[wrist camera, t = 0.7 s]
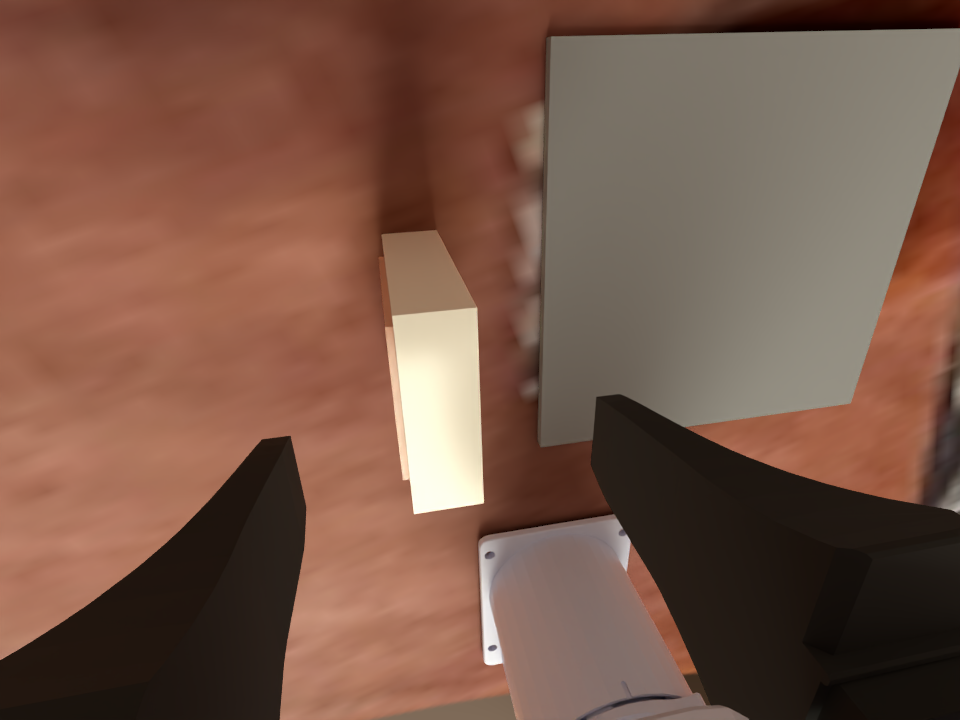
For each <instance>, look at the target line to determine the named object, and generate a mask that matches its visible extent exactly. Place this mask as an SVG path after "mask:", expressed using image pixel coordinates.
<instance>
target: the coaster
mask: <svg viewBox="0 0 960 720" xmlns="http://www.w3.org/2000/svg"><path fill="white" fill-rule="evenodd" d="M381 235H382V244H383V253H384V257H378V259H379V270H380V280H381V291H382V302H383V312H384V323H385V332H386V341H387V349H388V358H389V366H390V375H391V383H392V392H393V400H394V409H395V417H396V425H397V434H398V442H399V451H400V459H401V468H402V476H403V480H408V479H410V485H411V494H412V502H413V510H414V514H418V513H425V512H431V511H438V510H444V509H450V508H457V507H463V506H470V505H476V504H483V503H484V495H483V465H482V436H481V406H480V377H479V348H478V318H477V306H476V304H475V302H474V301H473V299H472V297H471V295H470V293H469V291H468V289H467V287H466V285H465V283H464V281H463V280H462V278H461V276H460V274H459V272H458V270H457V268H456V266H455V264H454V262H453V260H452V258H451V257H450V255H449V253H448V251H447V249H446V247H445V245H444V243H443V241H442V239H441V237H440V235H439V234H438V232H437V230H430V231H417V232H403V233H390V234H381Z"/></svg>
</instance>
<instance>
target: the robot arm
mask: <svg viewBox="0 0 960 720" xmlns="http://www.w3.org/2000/svg"><path fill="white" fill-rule="evenodd" d="M591 466H592V469H593V471H594V474H595V476H596V479H597V481H598V484H599V486H600V488H601V490H602V493H603V495H604V497H605V499H606V501H607V503H608V504H609V506H610V508H611V510H612V511H613V513H614V514H612V515H606V516H600V517H594V518H588V519H582V520H576V521H570V522H564V523H558V524H552V525H546V526H540V527H534V528H528V529H522V530H516V531H510V532H504V533H498V534H492V535H487V536H484V537H482V538H481V539H480V540H479V543H478V552H479V576H480V600H481V624H482V648H483V659H484V662H485V663H486V664H487V665H495V664H500V663H503V666H504V670H505V674H506V678H507V682H508V686H509V691H510V695H511V699H512V703H513V707H514V711H515V715H516V719H517V720H960V515H959V514H957V513H956V512H954V511H952V510H948V509H942V508H937V507H931V506H925V505H920V504H914V503H908V502H903V501H897V500H891V499H886V498H882V497H877V496H873V495H869V494H864V493H860V492H856V491H852V490H847V489H844V488H840V487H836V486H832V485H829V484H825V483H822V482H818V481H815V480H812V479H809V478H805V477H802V476H799V475H795V474H792V473H789V472H786V471H783V470H780V469H778V468H775V467H772V466H769V465H767V464H764V463H762V462H759V461H756V460H754V459H751V458H749V457H746V456H744V455H741V454H739V453H737V452H734V451H732V450H730V449H728V448H725V447H723V446H721V445H719V444H717V443H715V442H712V441H710V440H708V439H706V438H704V437H702V436H700V435H698V434H696V433H694V432H692V431H690V430H688V429H686V428H684V427H682V426H681V425H679V424H677V423H675V422H673V421H671V420H669V419H667V418H666V417H664V416H662V415H660V414H658V413H656V412H655V411H653V410H651V409H649V408H647V407H645V406H644V405H642V404H640V403H638V402H636V401H634V400H632V399H630V398H628V397H626V396H624V395H621V394H615V395H607V396H599V397H596V406H595V419H594V431H593V444H592V456H591ZM305 525H306V504H305V499H304V495H303V490H302V486H301V481H300V477H299V472H298V468H297V463H296V459H295V454H294V450H293V445H292V441H291V436H285V437H278V438H270V439H262V440H261V441H260V442H259V444H258V445H257V446H256V447H255V448H254V449H253V450H252V452H251V453H250V454H249V455H248V456H247V457H246V459H245V460H244V461H243V462H242V463H241V465H240V466H239V467H238V468H237V469H236V471H235V472H234V473H233V474H232V475H231V476H230V478H229V479H228V480H227V481H226V482H225V483H224V484H223V486H222V487H221V488H220V489H219V490H218V491H217V492H216V494H215V495H214V496H213V497H212V498H211V499H210V500H209V501H208V502H207V503H206V504H205V505H204V506H203V507H202V508H201V510H200V511H199V512H198V513H197V514H196V515H195V516H194V517H193V518H192V519H191V520H190V521H189V522H188V523H187V524H186V525H185V526H184V527H183V528H182V529H181V530H180V531H179V532H178V533H177V534H176V535H174V536H173V537H172V538H171V539H170V540H169V541H168V542H167V543H166V544H165V545H164V546H162V547H161V548H160V549H159V550H158V551H156V552H155V553H154V554H153V555H152V556H151V557H149V558H148V559H147V560H146V561H145V562H144V563H142V564H141V565H140V566H139V567H138V568H136V569H135V570H134V571H132V572H131V573H130V574H128V575H127V576H126V577H124V578H123V579H122V580H121V581H119V582H118V583H117V584H115V585H114V586H113V587H111V588H110V589H109V590H107V591H106V592H105V593H103V594H102V595H101V596H99V597H98V598H97V599H95V600H94V601H93V602H91V603H90V604H88V605H87V606H85V607H84V608H83V609H81V610H80V611H78V612H77V613H75V614H74V615H72V616H71V617H69V618H68V619H66V620H65V621H63V622H62V623H60V624H59V625H57V626H56V627H54V628H52V629H51V630H49V631H48V632H46V633H45V634H43V635H41V636H40V637H38V638H37V639H35V640H34V641H32V642H30V643H29V644H27V645H25V646H24V647H22V648H21V649H19V650H17V651H16V652H14V653H12V654H10V655H9V656H7V657H5V658H3V659H2V660H0V720H280V706H281V694H282V682H283V669H284V659H285V652H286V645H287V639H288V633H289V628H290V623H291V617H292V612H293V606H294V601H295V596H296V590H297V585H298V580H299V574H300V569H301V563H302V557H303V552H304V543H305ZM621 529H623V530H621ZM620 530H621V531H620ZM630 542H631V543H632V544H633V546H634V547H635V549H636V551H637V552H638V554H639V556H640V557H641V559H642V560H643V562H644V564H645V565H646V567H647V569H648V570H649V572H650V574H651V575H652V577H653V579H654V581H655V583H656V584H657V586H658V588H659V590H660V592H661V594H662V596H663V598H664V600H665V602H666V604H667V606H668V609H669V611H670V613H671V615H672V617H673V619H674V621H675V623H676V625H677V628H678V630H679V632H680V634H681V636H682V639H683V641H684V643H685V645H686V648H687V650H688V652H689V654H690V657H691V659H692V661H693V663H694V666H695V668H696V670H697V673H698V675H699V677H700V680H701V682H702V685H703V687H704V690H705V692H706V694H707V697H708V699H709V702H710V704H711V706H706V704H705V702H704V701H703V699H702V697H701V695H700V694H699V693H694V694H693V693H692V692H691V690H690V688H689V686H688V684H687V682H686V681H685V679H684V677H683V675H682V673H681V671H680V670H679V668H678V666H677V664H676V662H675V660H674V659H673V657H672V655H671V653H670V651H669V649H668V648H667V646H666V644H665V642H664V640H663V638H662V637H661V635H660V633H659V631H658V629H657V627H656V626H655V624H654V622H653V620H652V618H651V616H650V615H649V613H648V611H647V609H646V607H645V606H644V604H643V602H642V600H641V598H640V596H639V595H638V593H637V591H636V589H635V587H634V585H633V584H632V582H631V580H630V578H629V576H628V574H627V566H628V558H629V550H630ZM489 551H492V552H491V553H487V552H489Z"/></svg>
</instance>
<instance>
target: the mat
mask: <svg viewBox="0 0 960 720" xmlns="http://www.w3.org/2000/svg"><path fill="white" fill-rule="evenodd" d="M959 68H960V28H959V29H907V30H856V31H804V32H753V33H701V34H650V35H598V36H551V37H547V38H546V79H545V124H544V169H543V215H542V260H541V305H540V351H539V396H538V443H539V445H540V447H548V446H555V445H562V444H569V443H576V442H583V441H590V440H593V431H594V419H595V406H596V397H599V396H607V395H615V394H621V395H624V396H626V397H628V398H630V399H632V400H634V401H636V402H638V403H640V404H642V405H644V406H645V407H647V408H649V409H651V410H653V411H655V412H656V413H658V414H660V415H662V416H664V417H666V418H667V419H669V420H671V421H673V422H675V423H677V424H679V425H681V426H682V427H689V426H696V425H703V424H710V423H717V422H724V421H731V420H738V419H745V418H752V417H759V416H766V415H773V414H780V413H787V412H794V411H801V410H808V409H815V408H822V407H829V406H836V405H843V404H850V403H851V400H852V397H853V394H854V391H855V388H856V385H857V382H858V379H859V376H860V372H861V369H862V366H863V363H864V360H865V357H866V354H867V351H868V348H869V345H870V342H871V339H872V336H873V332H874V329H875V326H876V323H877V320H878V317H879V314H880V311H881V308H882V305H883V302H884V299H885V296H886V292H887V289H888V286H889V283H890V280H891V277H892V274H893V271H894V268H895V265H896V262H897V259H898V256H899V252H900V249H901V246H902V243H903V240H904V237H905V234H906V231H907V228H908V225H909V222H910V219H911V216H912V212H913V209H914V206H915V203H916V200H917V197H918V194H919V191H920V188H921V185H922V182H923V179H924V176H925V173H926V169H927V166H928V163H929V160H930V157H931V154H932V151H933V148H934V145H935V142H936V139H937V136H938V133H939V129H940V126H941V123H942V120H943V117H944V114H945V111H946V108H947V105H948V102H949V99H950V96H951V93H952V89H953V86H954V83H955V80H956V77H957V74H958V71H959Z"/></svg>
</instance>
